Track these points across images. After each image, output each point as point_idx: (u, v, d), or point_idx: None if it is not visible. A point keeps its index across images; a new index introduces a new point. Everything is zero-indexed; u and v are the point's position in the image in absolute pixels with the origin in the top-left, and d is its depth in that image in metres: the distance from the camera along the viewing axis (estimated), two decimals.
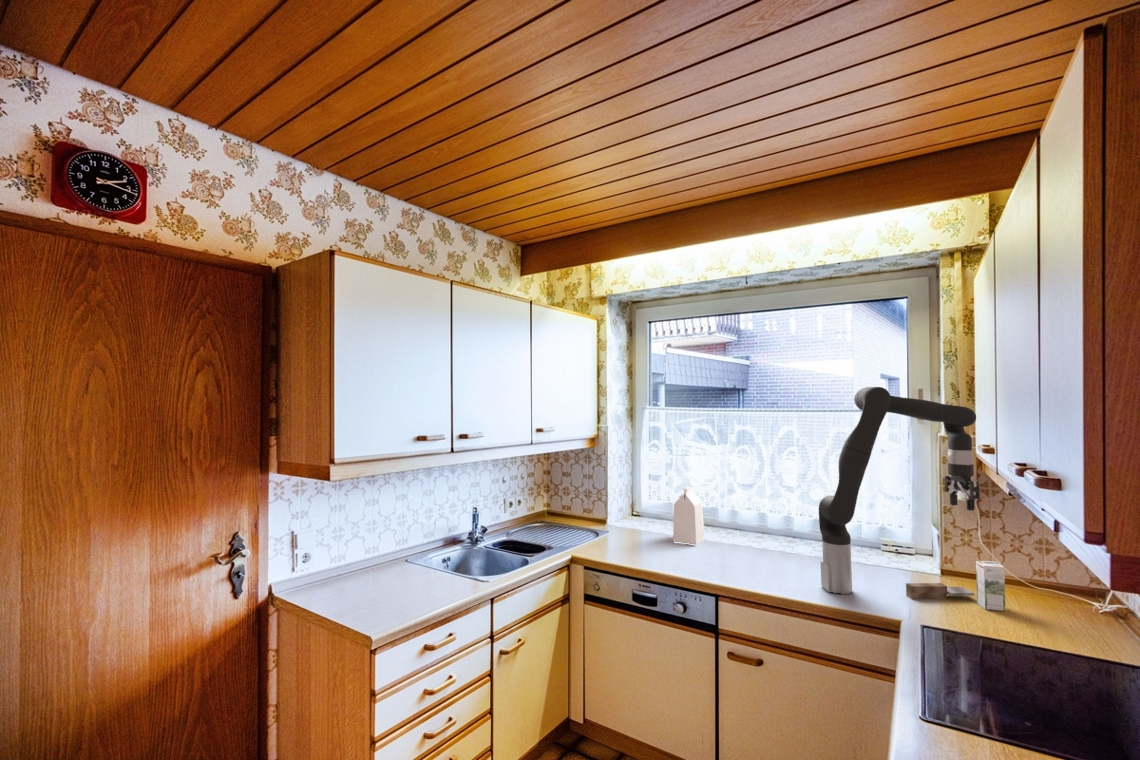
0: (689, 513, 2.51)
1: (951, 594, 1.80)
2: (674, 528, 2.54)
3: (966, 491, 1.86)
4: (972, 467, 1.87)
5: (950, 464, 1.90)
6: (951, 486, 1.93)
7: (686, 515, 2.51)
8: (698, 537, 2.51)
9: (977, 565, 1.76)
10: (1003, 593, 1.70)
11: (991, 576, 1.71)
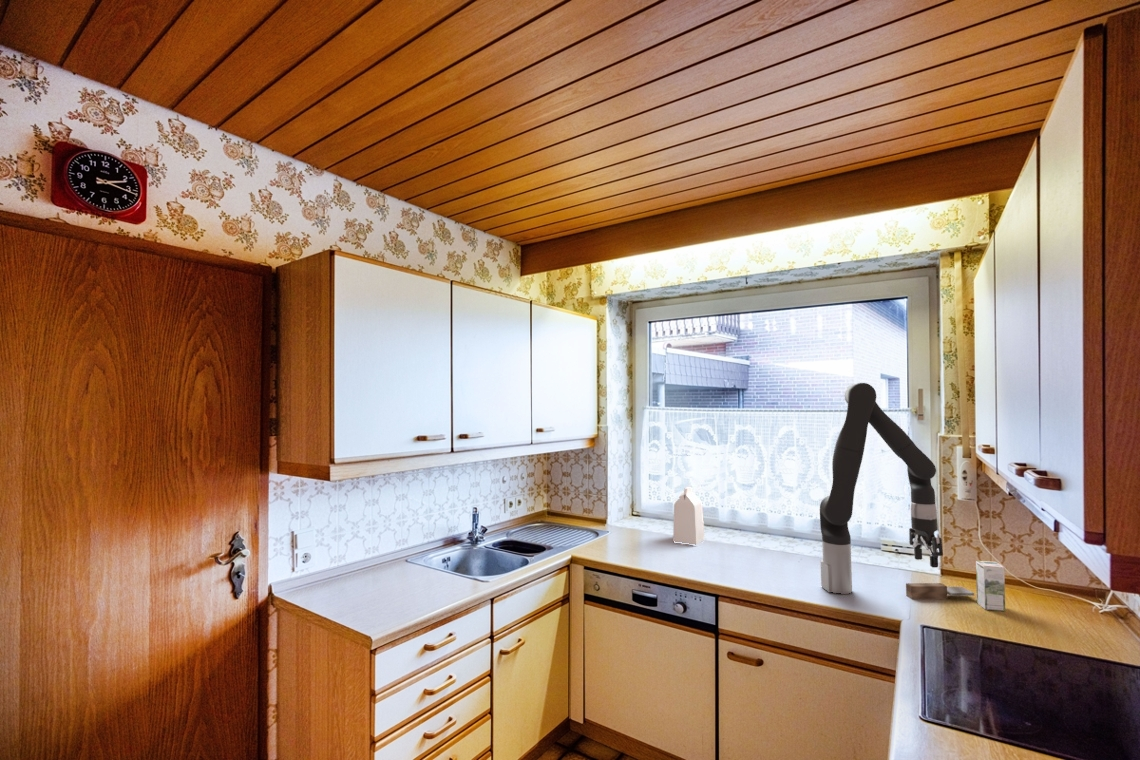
0: (689, 513, 2.51)
1: (951, 594, 1.80)
2: (674, 528, 2.54)
3: (929, 547, 1.79)
4: (935, 522, 1.80)
5: (913, 518, 1.83)
6: (915, 540, 1.86)
7: (686, 515, 2.51)
8: (698, 537, 2.51)
9: (977, 565, 1.76)
10: (1003, 593, 1.70)
11: (991, 576, 1.71)
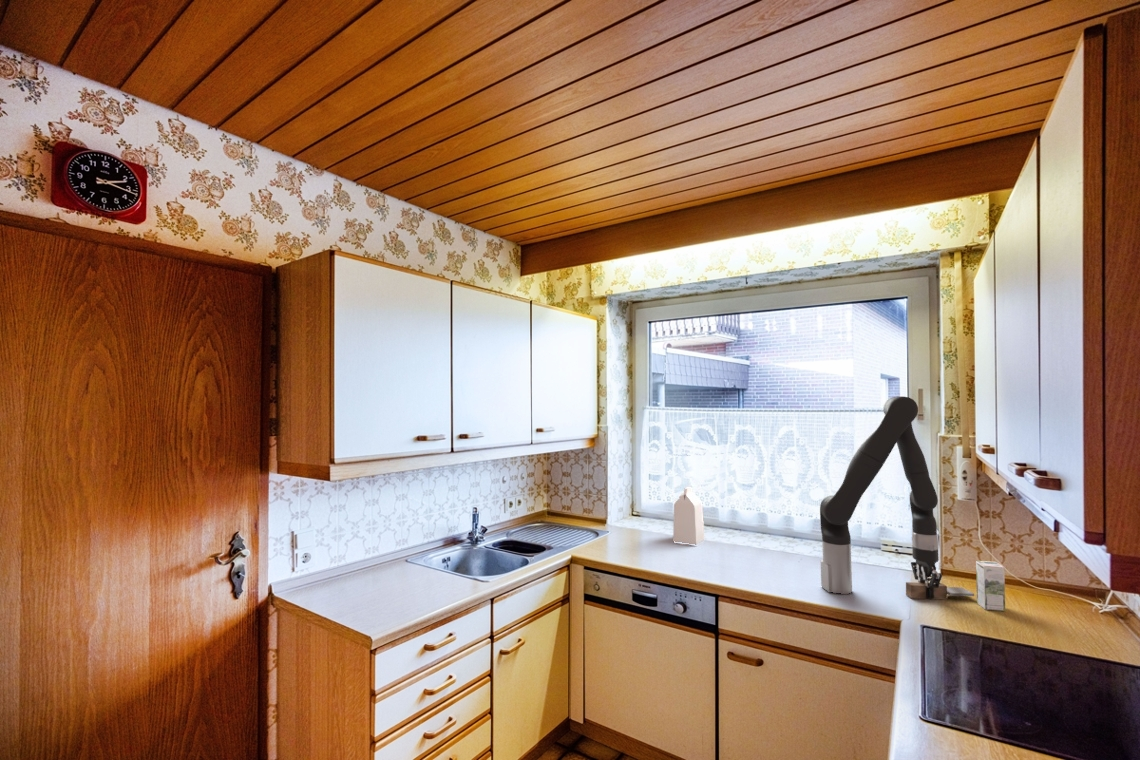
0: (689, 513, 2.51)
1: (951, 594, 1.80)
2: (674, 528, 2.54)
3: (927, 579, 1.81)
4: (936, 553, 1.80)
5: (914, 548, 1.83)
6: (918, 572, 1.85)
7: (686, 515, 2.51)
8: (698, 537, 2.51)
9: (977, 565, 1.76)
10: (1003, 593, 1.70)
11: (991, 576, 1.71)
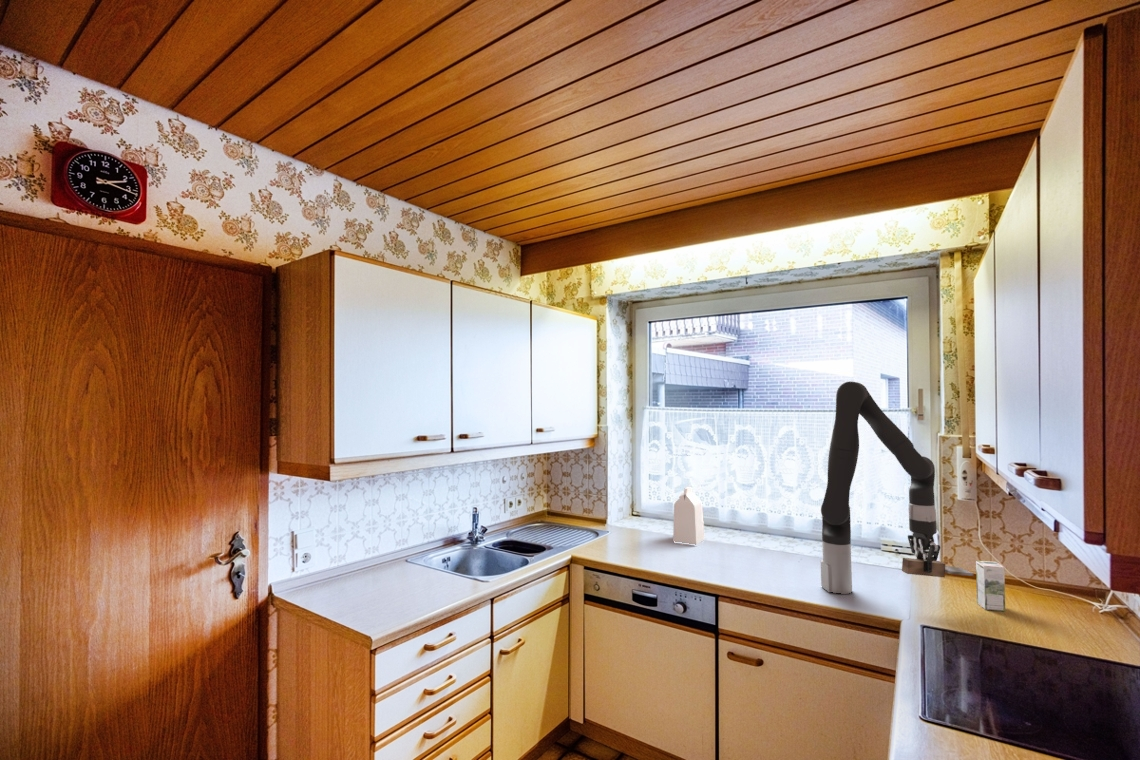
0: (689, 513, 2.51)
1: (949, 572, 1.71)
2: (674, 528, 2.54)
3: (925, 552, 1.72)
4: (934, 524, 1.72)
5: (911, 520, 1.75)
6: (915, 545, 1.76)
7: (686, 515, 2.51)
8: (698, 537, 2.51)
9: (977, 565, 1.76)
10: (1003, 593, 1.70)
11: (991, 576, 1.71)
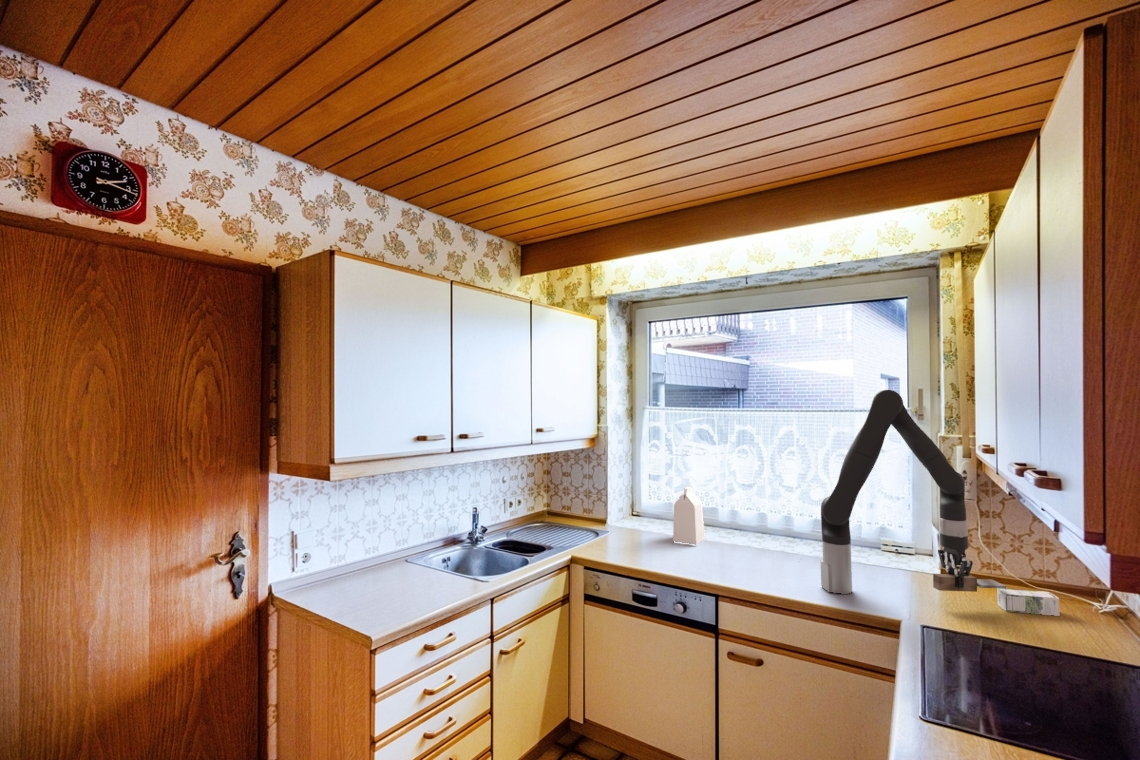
0: (689, 513, 2.51)
1: (981, 586, 1.71)
2: (674, 528, 2.54)
3: (957, 567, 1.71)
4: (966, 539, 1.71)
5: (942, 535, 1.74)
6: (946, 560, 1.76)
7: (686, 515, 2.51)
8: (698, 537, 2.51)
9: (1046, 592, 1.71)
10: (1028, 612, 1.68)
11: (1047, 603, 1.67)
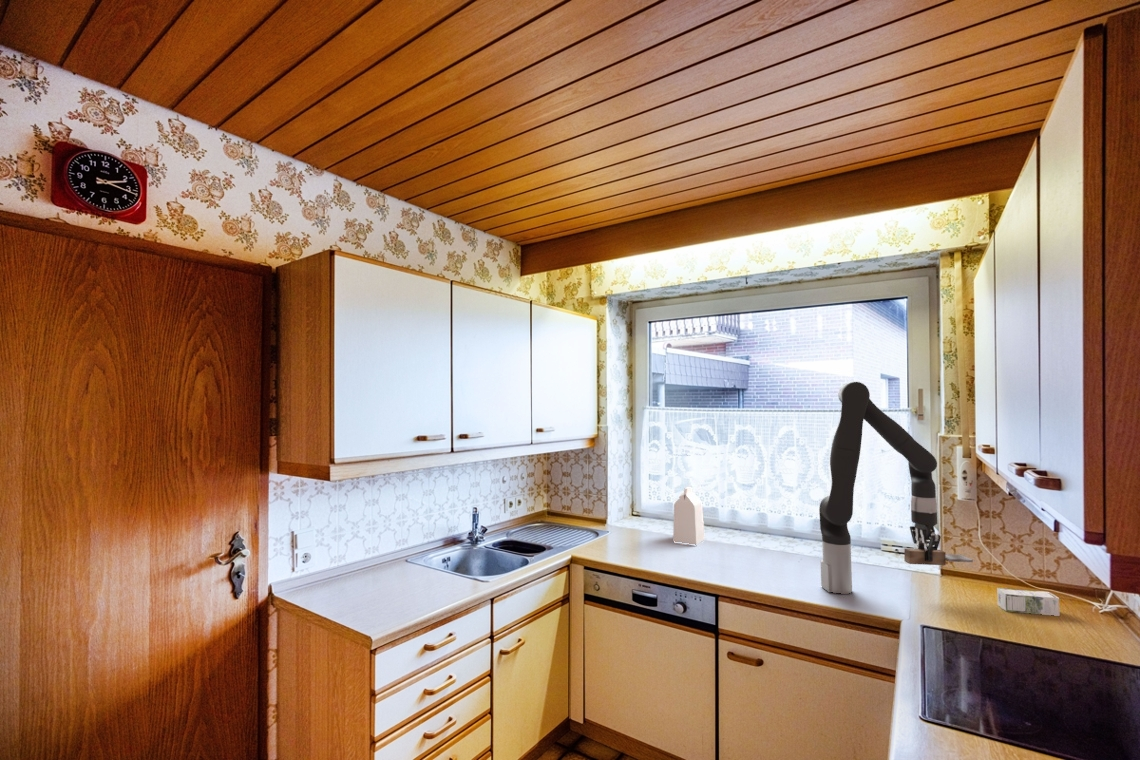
0: (689, 513, 2.51)
1: (949, 560, 1.80)
2: (674, 528, 2.54)
3: (926, 542, 1.81)
4: (935, 515, 1.80)
5: (913, 511, 1.83)
6: (916, 535, 1.85)
7: (686, 515, 2.51)
8: (698, 537, 2.51)
9: (1046, 592, 1.71)
10: (1028, 612, 1.68)
11: (1047, 603, 1.67)
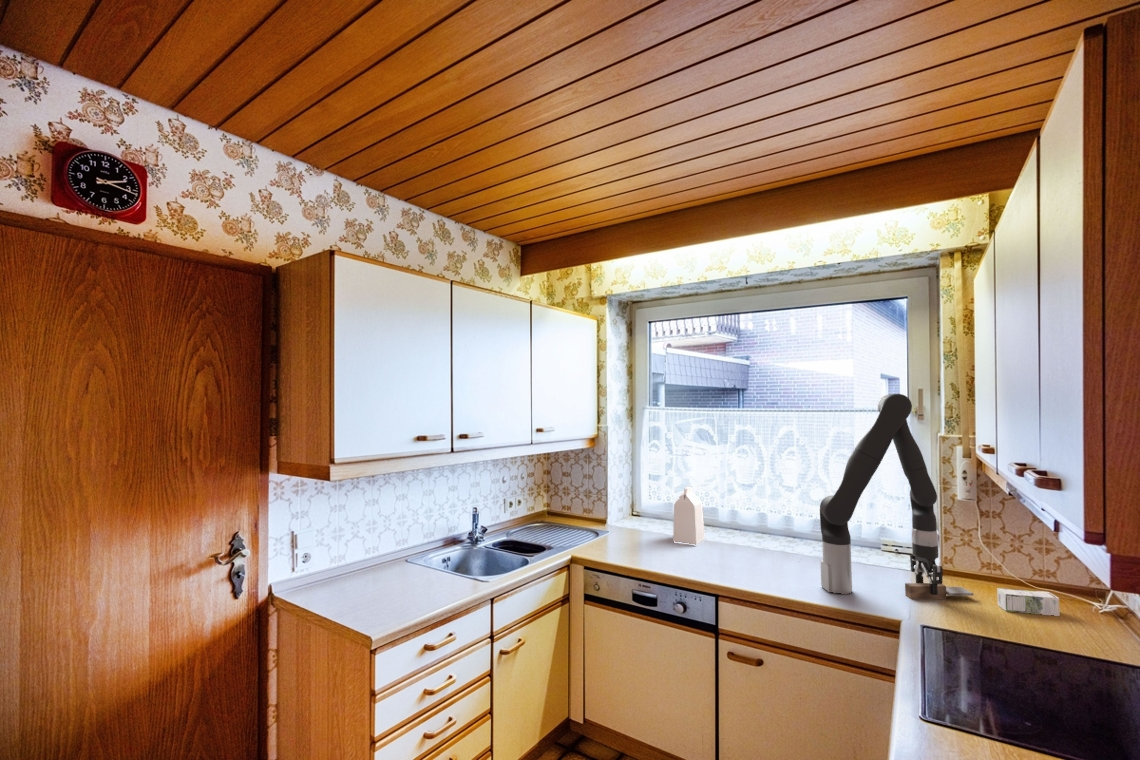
0: (689, 513, 2.51)
1: (950, 594, 1.80)
2: (674, 528, 2.54)
3: (929, 575, 1.79)
4: (936, 549, 1.80)
5: (914, 544, 1.83)
6: (916, 567, 1.86)
7: (686, 515, 2.51)
8: (698, 537, 2.51)
9: (1046, 592, 1.71)
10: (1028, 612, 1.68)
11: (1047, 603, 1.67)
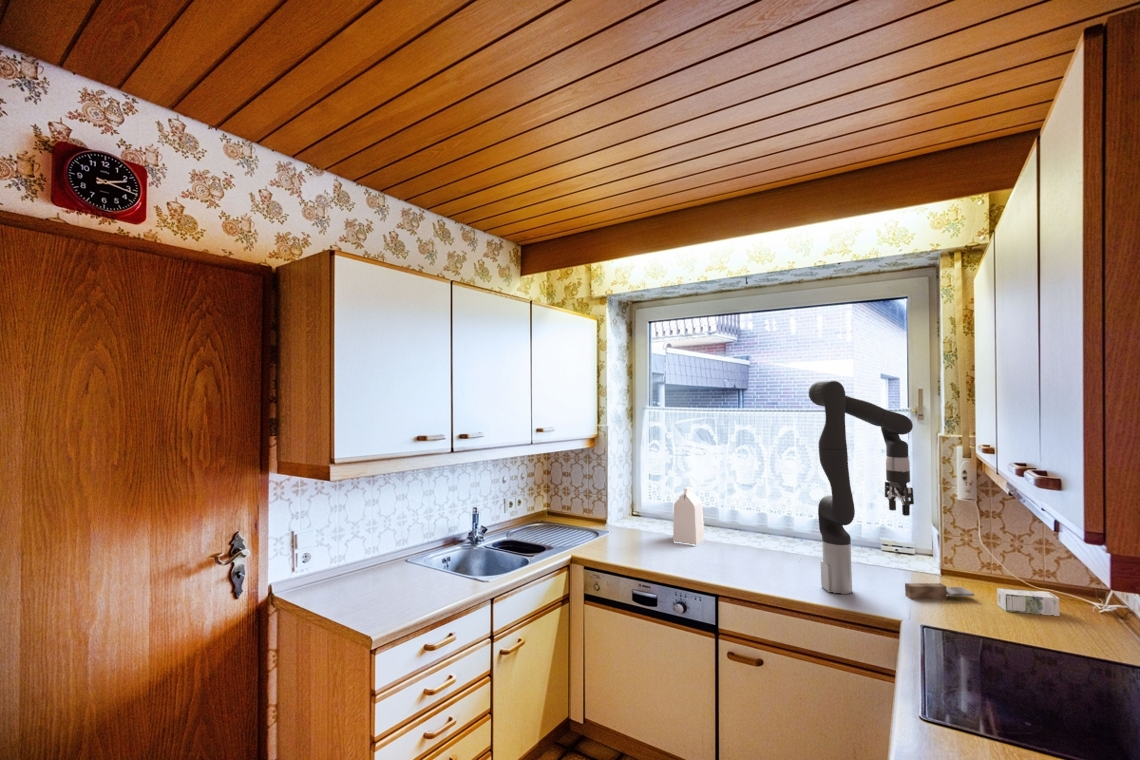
0: (689, 513, 2.51)
1: (950, 594, 1.79)
2: (674, 528, 2.54)
3: (902, 497, 1.93)
4: (908, 474, 1.94)
5: (888, 471, 1.97)
6: (889, 492, 1.99)
7: (686, 515, 2.51)
8: (698, 537, 2.51)
9: (1046, 592, 1.71)
10: (1028, 612, 1.68)
11: (1047, 603, 1.67)
